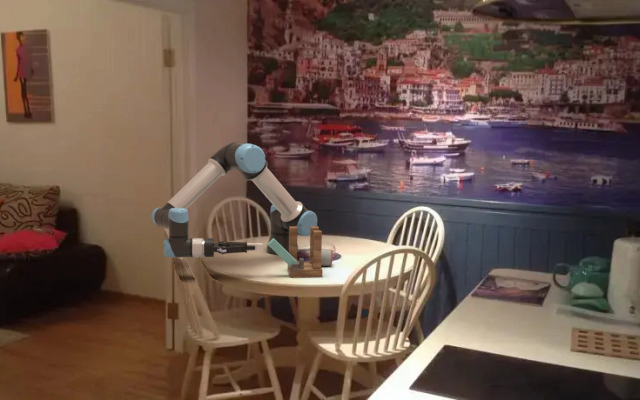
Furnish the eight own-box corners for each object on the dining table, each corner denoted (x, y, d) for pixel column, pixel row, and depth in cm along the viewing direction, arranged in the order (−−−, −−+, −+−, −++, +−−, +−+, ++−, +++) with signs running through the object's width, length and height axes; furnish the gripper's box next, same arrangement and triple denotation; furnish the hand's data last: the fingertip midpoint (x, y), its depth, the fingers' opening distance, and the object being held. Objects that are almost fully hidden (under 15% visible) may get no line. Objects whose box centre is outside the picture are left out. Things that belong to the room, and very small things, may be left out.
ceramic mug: (332, 267, 267) (333, 250, 266) (313, 267, 266) (314, 250, 265) (330, 262, 277) (331, 245, 276) (312, 262, 277) (312, 245, 276)
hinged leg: (293, 268, 255) (267, 243, 252) (299, 263, 255) (273, 237, 252) (294, 271, 251) (268, 245, 248) (300, 265, 251) (273, 239, 248)
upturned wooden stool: (287, 269, 263) (288, 226, 261) (317, 268, 265) (318, 226, 262) (290, 277, 250) (291, 232, 247) (322, 277, 252) (323, 232, 249)
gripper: (204, 252, 253) (262, 252, 257) (203, 260, 241) (264, 260, 244) (204, 235, 252) (262, 234, 256) (203, 242, 239) (264, 241, 243)
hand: (263, 247), depth 250 cm, fingers closed
